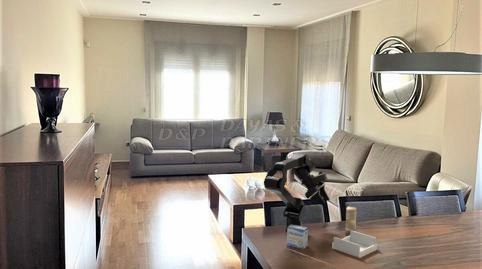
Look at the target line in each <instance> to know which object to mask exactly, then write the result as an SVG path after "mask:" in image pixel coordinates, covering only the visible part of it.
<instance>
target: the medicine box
mask: <svg viewBox="0 0 482 269" xmlns="http://www.w3.org/2000/svg"><path fill="white" fill-rule="evenodd" d="M286 232H287V233H286V234H287V235H286V247H287V248H288V247H294V248H299V249H306V248H307V247H308V241H309V240H308V239H309V238H308V237H309V227H306V226H303V225H302V226H296V225H290V226H288V228H287V231H286Z"/></svg>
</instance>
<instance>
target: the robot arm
mask: <svg viewBox="0 0 482 269" xmlns="http://www.w3.org/2000/svg"><path fill="white" fill-rule="evenodd" d="M314 170H316V165H315V162H314V161H312V158H309V157H308V155H307V154H305V153H296V152H295V153H293V154H291V156H290V158H287V159H285V160H282V161H279V162H276V163H274V165H273V167H272V168H271V169H270V170H269V171H268V172H267V173H266V175H265V178H264V180H263V187H264V188H265V189H266V190H267V191H269V192H272V193H274V194H275V195H276V196H277V197H278V198H280V200H282V201H281V202H283V203H284V204H285V205H286V206H285V208H284V210H283V214H282V215H283V217H284V218H286V225H285V226H286V228H285V230H286V231H285V232H287V228H288V226H290V225H296V226H302V227H303V220H302V219H304V218H305V212H306V204H305V203H304V202H305V201H304V200H303V198H300V197H296V196H293V195H292V193H291V192H290V191H289V190H288V189H287V188H286V186H285V185H286V183H287V180H288V178H287V171H290V172H291V173H290V174H291V176H295V177H296V178H297V179H298V180H299V181H300V182H301V186H304V188H306V192H305V194H304V197H305V198H307V199H308V200H311V201H313V202H315V203H318V204H320V205H322V206H323V207H324V206H326V205H327V203H326V201H330V197H329V195H328V193H327V192H326V189H325V186H326V184H325V183H326V182H325V181H327V180H328V176H327V174H326V172H324V171H322V170H321V171H319V172H318V173H317V175H314V174H311V173H312V172H313V171H314ZM278 173H282V177H277V176H276V177H275V176H274V175H276V174H278ZM325 200H326V201H325Z"/></svg>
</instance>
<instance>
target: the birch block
mask: <svg viewBox="0 0 482 269" xmlns="http://www.w3.org/2000/svg"><path fill="white" fill-rule="evenodd" d="M356 224H357V207H355V206H354V207H353V206H347V207H346V211H345V232H344V234H345V237H347V236H350V231H351V230H352V231H355V232H356V226H357V225H356Z"/></svg>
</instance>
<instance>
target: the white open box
mask: <svg viewBox="0 0 482 269" xmlns="http://www.w3.org/2000/svg"><path fill="white" fill-rule="evenodd" d="M331 245H332V246H331V249H333V250H336V251H339V252H342V253H345V254H346V255H350V256H354V257H356V258H359V259H361V258H363V257H365V256H367V255H369V254H370V253H373V252H375V251H377V250H378V243H377V237H376V236H373V235H372V236H371V235H368V234H365V233H362V232H358V231H356V230H355V231H352V230H351V231H350V236H345V237H343V238H339V237H336V236H333V242H331Z"/></svg>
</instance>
